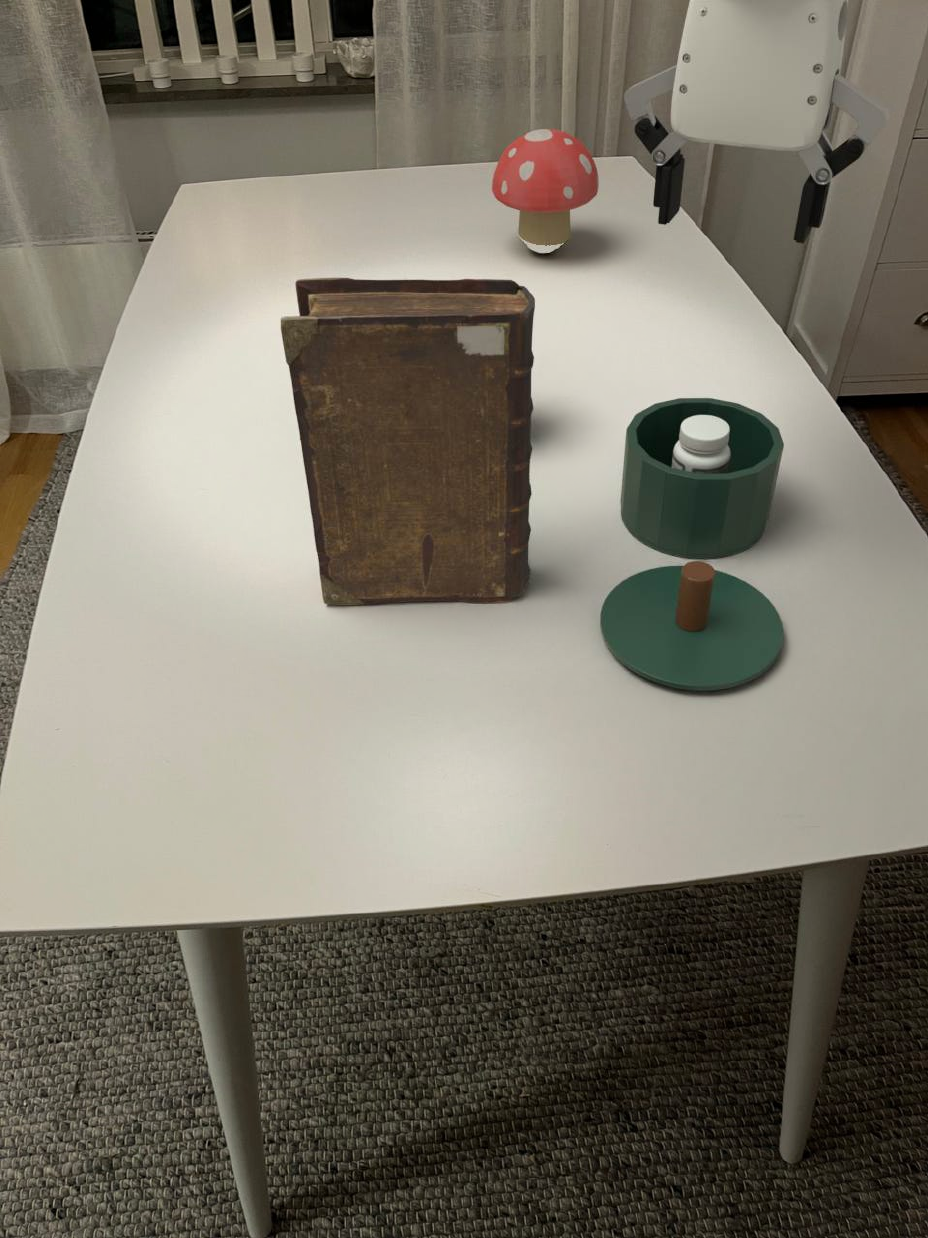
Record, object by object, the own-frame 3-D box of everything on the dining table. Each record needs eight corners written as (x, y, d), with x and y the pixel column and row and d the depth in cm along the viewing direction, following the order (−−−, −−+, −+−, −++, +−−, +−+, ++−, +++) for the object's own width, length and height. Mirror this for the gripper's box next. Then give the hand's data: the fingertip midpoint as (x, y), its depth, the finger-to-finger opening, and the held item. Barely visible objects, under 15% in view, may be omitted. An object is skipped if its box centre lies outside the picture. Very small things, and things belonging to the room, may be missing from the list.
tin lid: (798, 601, 80) (813, 540, 76) (757, 719, 71) (771, 656, 67) (632, 559, 85) (638, 499, 81) (573, 664, 76) (577, 603, 72)
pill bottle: (729, 503, 90) (743, 420, 84) (709, 532, 87) (722, 447, 81) (679, 488, 92) (689, 406, 86) (657, 515, 89) (667, 432, 83)
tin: (780, 492, 92) (797, 414, 86) (746, 574, 83) (762, 493, 78) (646, 462, 96) (653, 386, 90) (600, 537, 87) (606, 458, 82)
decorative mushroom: (479, 241, 137) (476, 122, 127) (572, 227, 140) (576, 109, 130) (512, 280, 127) (512, 154, 117) (611, 264, 130) (619, 139, 120)
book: (533, 565, 85) (538, 275, 68) (526, 621, 80) (529, 322, 63) (338, 554, 87) (296, 270, 70) (319, 609, 82) (269, 315, 65)
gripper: (934, -64, 61) (868, 224, 72) (654, -73, 67) (634, 194, 78) (918, -41, 56) (849, 264, 67) (617, -53, 62) (601, 229, 73)
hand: (734, 226), depth 73 cm, fingers open, 9 cm apart
